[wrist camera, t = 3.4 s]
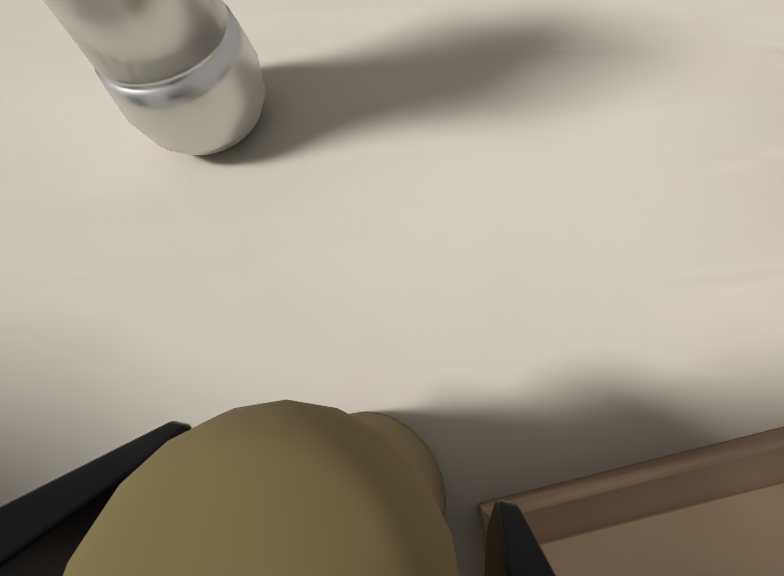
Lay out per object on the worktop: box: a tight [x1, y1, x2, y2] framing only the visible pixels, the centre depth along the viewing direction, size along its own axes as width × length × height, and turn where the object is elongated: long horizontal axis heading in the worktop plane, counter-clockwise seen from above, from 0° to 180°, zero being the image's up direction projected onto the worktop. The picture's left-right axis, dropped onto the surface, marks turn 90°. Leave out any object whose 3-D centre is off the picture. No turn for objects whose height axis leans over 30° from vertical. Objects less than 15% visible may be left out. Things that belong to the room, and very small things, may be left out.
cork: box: [63, 400, 460, 576], centre depth 9 cm, size 6×6×11 cm
